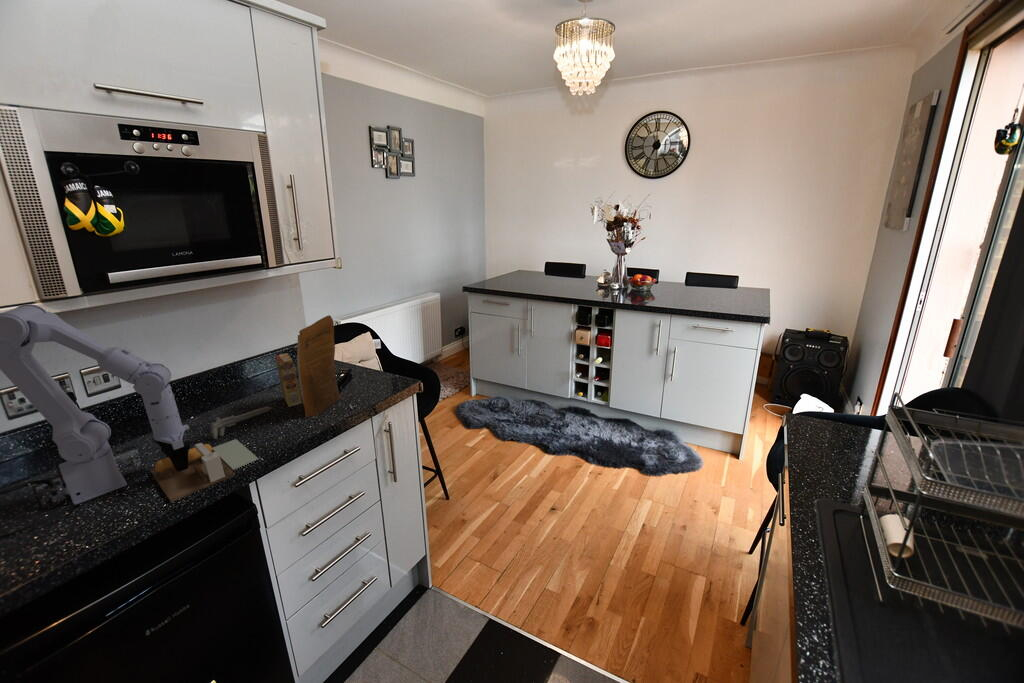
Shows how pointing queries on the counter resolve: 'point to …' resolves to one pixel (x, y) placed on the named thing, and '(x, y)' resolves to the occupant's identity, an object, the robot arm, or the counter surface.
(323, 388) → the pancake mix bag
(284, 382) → the candy box
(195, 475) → the clamp board
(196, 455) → the orange sausage
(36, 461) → the counter surface
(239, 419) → the caliper
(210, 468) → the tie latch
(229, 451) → the mat
